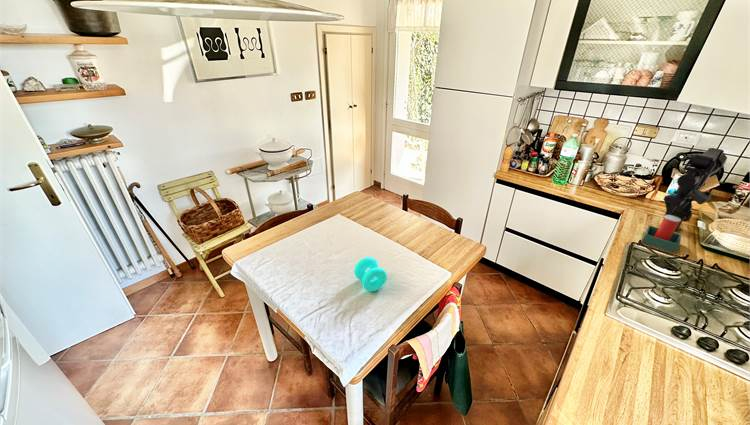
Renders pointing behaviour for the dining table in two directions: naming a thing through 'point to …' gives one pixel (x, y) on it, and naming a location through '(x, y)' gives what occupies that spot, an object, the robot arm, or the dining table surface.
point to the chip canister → (667, 227)
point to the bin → (661, 240)
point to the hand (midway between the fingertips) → (673, 212)
